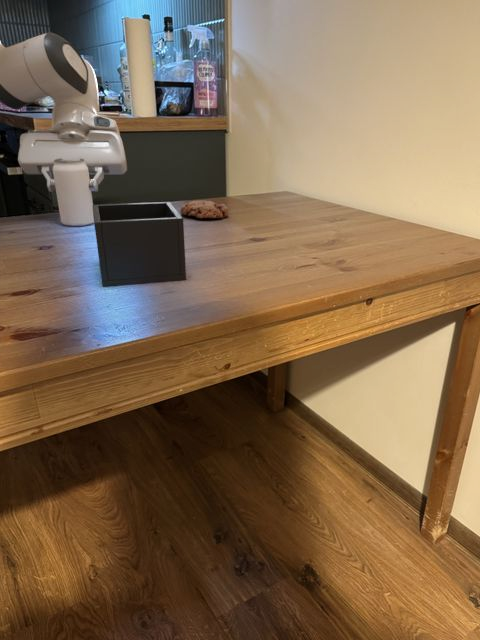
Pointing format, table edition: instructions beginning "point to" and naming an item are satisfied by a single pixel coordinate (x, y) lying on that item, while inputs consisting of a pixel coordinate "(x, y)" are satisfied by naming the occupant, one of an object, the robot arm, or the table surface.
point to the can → (73, 192)
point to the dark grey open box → (139, 243)
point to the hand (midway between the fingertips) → (73, 189)
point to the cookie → (204, 209)
